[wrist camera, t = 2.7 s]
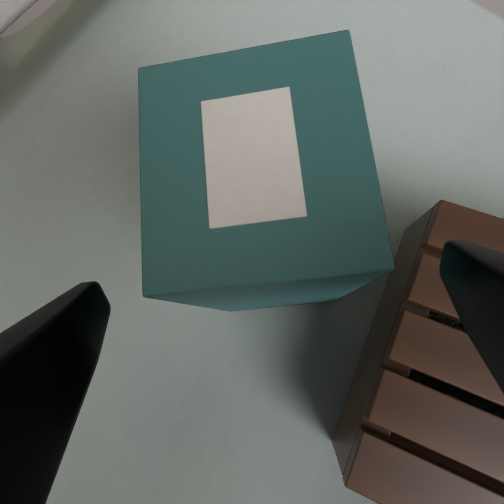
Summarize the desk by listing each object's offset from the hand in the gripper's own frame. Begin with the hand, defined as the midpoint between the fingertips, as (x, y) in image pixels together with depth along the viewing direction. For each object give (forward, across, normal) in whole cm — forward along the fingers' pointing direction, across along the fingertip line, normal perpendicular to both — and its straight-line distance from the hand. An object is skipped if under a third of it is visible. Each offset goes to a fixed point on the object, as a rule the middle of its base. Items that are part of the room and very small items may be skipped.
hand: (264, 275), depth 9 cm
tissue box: (+9, 0, +5) cm, 11 cm away
